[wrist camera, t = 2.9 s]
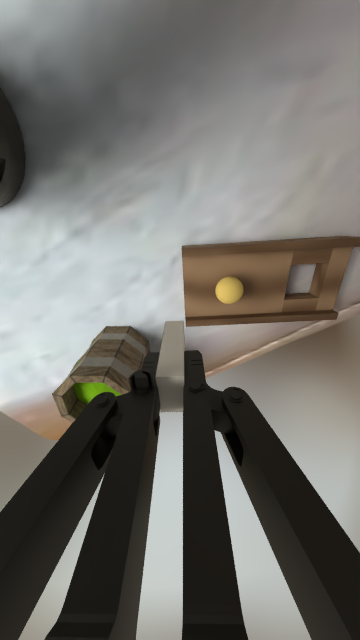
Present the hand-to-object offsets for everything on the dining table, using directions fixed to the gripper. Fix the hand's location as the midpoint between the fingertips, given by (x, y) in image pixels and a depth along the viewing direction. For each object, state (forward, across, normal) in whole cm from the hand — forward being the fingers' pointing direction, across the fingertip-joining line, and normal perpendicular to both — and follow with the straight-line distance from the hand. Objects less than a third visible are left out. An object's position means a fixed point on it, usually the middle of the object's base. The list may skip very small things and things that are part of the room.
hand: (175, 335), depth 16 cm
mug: (+15, -12, -14) cm, 24 cm away
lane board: (+15, +12, 0) cm, 19 cm away
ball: (+11, +7, 0) cm, 13 cm away
